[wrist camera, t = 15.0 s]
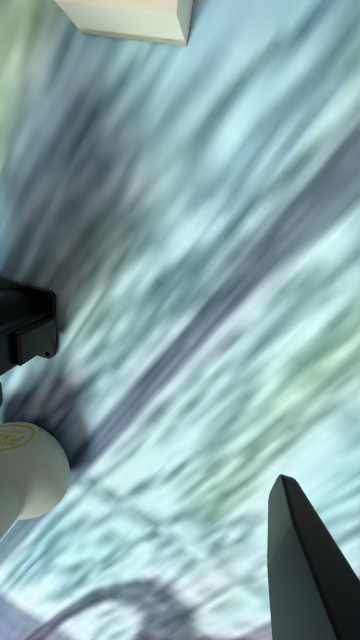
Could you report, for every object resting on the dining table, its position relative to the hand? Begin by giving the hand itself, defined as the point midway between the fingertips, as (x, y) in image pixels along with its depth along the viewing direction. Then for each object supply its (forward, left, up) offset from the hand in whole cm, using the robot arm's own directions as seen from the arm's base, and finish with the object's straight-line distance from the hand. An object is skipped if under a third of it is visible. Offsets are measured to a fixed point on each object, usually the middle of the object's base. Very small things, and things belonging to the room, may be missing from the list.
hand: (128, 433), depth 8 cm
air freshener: (-14, -21, -13) cm, 29 cm away
